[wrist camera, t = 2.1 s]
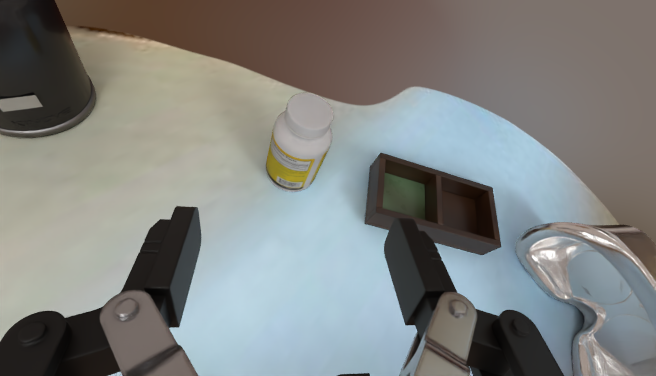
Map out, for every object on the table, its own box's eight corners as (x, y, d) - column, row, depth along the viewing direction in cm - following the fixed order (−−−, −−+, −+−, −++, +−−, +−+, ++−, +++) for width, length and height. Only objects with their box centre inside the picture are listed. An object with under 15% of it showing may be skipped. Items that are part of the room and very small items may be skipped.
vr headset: (493, 244, 38) (620, 185, 26) (561, 236, 42) (698, 182, 30) (573, 429, 30) (808, 467, 18) (647, 399, 34) (882, 413, 22)
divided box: (369, 166, 38) (380, 152, 36) (475, 198, 41) (492, 187, 38) (364, 223, 34) (375, 212, 32) (482, 255, 37) (501, 247, 34)
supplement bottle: (297, 144, 37) (320, 79, 29) (323, 181, 35) (354, 125, 27) (255, 160, 34) (266, 94, 26) (281, 201, 33) (301, 145, 25)
